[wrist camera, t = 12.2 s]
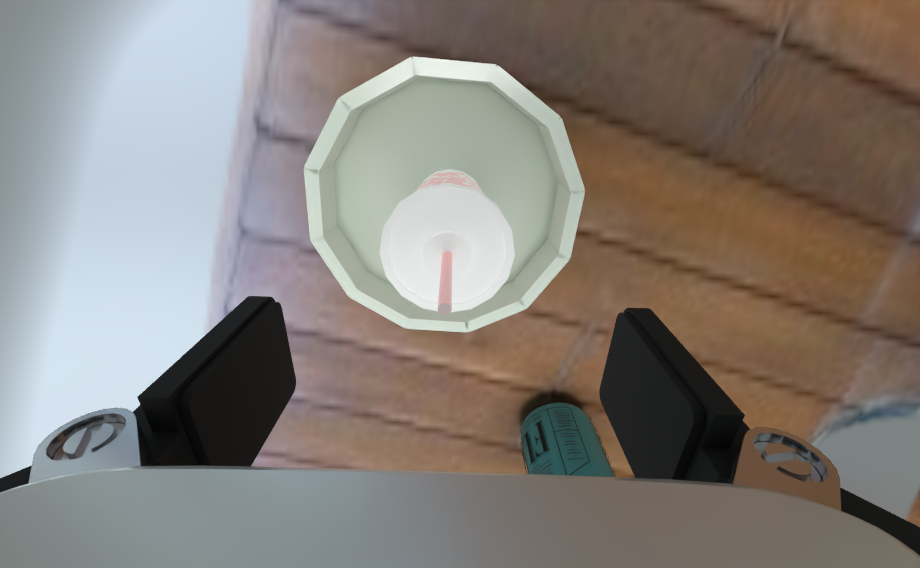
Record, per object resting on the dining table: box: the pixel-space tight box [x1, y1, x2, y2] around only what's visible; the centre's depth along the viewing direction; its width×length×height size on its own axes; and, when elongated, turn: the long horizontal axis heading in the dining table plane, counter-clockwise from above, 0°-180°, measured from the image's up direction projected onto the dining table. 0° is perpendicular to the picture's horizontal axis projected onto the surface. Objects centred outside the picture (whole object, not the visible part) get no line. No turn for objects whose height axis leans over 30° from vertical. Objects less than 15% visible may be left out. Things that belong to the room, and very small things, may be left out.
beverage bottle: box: [520, 403, 617, 477], centre depth 26 cm, size 6×7×20 cm
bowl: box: [304, 57, 585, 332], centre depth 24 cm, size 16×16×4 cm
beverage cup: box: [379, 169, 515, 315], centre depth 19 cm, size 6×6×14 cm
